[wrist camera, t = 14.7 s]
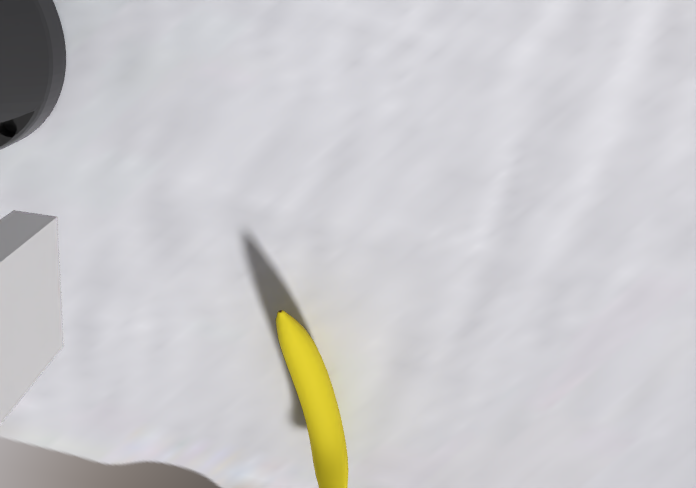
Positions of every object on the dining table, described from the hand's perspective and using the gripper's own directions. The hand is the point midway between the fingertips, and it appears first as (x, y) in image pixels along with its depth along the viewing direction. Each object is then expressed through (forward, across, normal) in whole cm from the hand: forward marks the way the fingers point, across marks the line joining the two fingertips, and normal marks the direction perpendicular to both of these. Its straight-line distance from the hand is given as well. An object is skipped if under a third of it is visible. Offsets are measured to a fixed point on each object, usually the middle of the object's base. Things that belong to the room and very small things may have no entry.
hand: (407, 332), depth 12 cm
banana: (+32, -1, -25) cm, 41 cm away
